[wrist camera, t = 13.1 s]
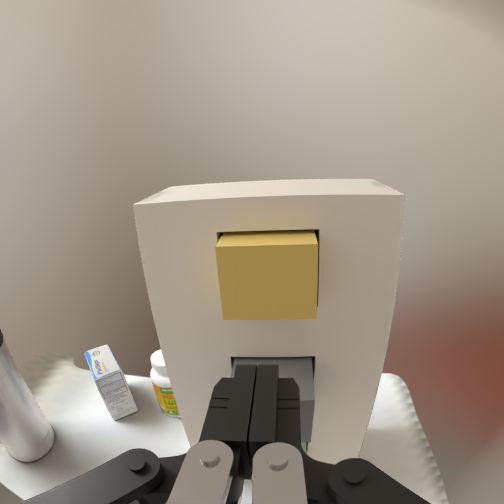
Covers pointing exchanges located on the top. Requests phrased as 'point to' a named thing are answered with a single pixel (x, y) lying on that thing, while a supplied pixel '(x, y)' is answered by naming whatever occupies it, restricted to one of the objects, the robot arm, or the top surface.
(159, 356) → the supplement bottle
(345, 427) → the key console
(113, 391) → the medicine box
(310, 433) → the charcoal key
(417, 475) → the top surface
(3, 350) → the robot arm
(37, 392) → the top surface
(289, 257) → the tan square block
